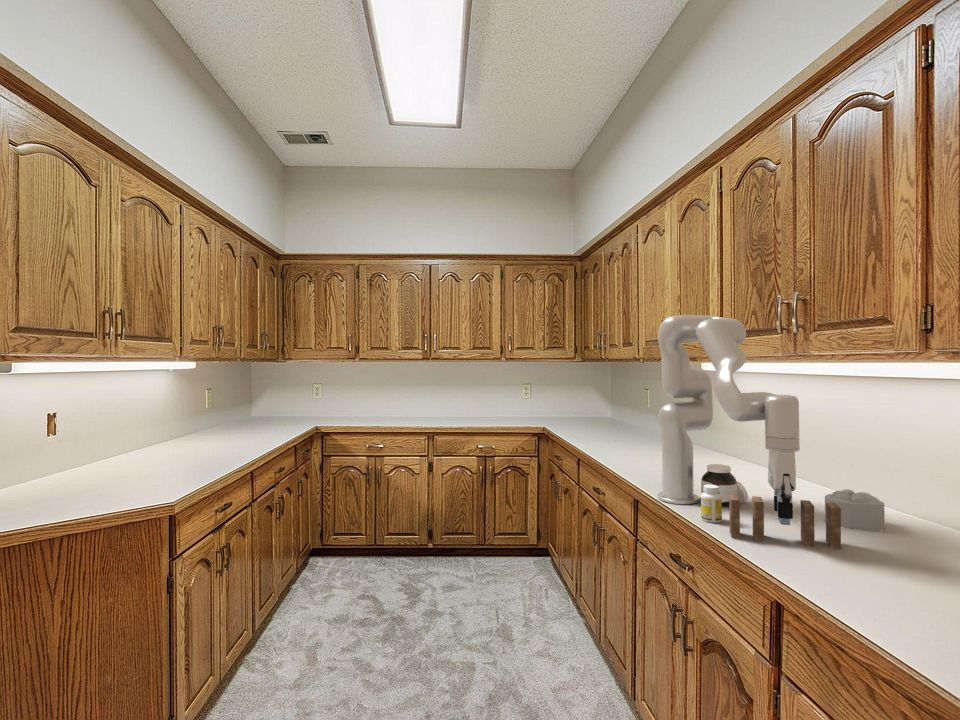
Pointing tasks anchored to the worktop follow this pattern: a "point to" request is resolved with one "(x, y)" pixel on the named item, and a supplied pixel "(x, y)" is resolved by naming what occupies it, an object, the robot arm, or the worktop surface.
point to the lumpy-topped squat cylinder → (858, 510)
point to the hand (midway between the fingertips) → (783, 514)
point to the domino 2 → (758, 518)
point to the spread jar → (723, 483)
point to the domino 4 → (833, 525)
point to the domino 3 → (807, 523)
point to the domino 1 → (734, 516)
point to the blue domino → (781, 520)
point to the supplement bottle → (711, 504)
